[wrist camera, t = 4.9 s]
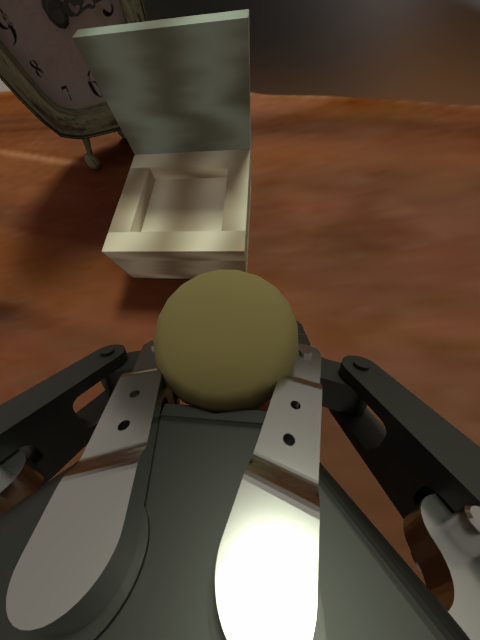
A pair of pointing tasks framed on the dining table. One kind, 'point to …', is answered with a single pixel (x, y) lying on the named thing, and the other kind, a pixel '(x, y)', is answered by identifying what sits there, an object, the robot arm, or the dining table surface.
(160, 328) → the cork
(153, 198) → the stand
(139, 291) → the dining table surface
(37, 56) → the tabletop clock
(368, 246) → the dining table surface
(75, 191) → the dining table surface
